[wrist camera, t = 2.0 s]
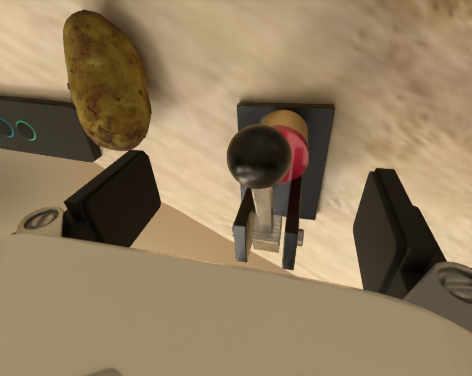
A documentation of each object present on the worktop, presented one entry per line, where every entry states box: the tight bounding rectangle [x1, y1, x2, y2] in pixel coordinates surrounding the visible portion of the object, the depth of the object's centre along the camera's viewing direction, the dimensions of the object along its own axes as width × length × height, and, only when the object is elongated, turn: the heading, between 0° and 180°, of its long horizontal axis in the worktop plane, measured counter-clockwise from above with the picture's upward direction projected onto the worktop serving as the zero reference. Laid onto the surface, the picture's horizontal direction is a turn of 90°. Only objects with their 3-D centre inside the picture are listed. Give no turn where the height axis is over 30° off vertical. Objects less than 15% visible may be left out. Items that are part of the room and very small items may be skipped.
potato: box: [63, 10, 152, 151], centre depth 27 cm, size 8×13×8 cm, turn 177°
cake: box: [259, 110, 309, 184], centre depth 26 cm, size 6×6×5 cm
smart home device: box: [0, 96, 101, 162], centre depth 37 cm, size 8×2×20 cm
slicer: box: [232, 102, 335, 270], centre depth 26 cm, size 15×10×14 cm, turn 3°
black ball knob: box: [227, 124, 292, 253], centre depth 17 cm, size 14×3×3 cm, turn 3°
